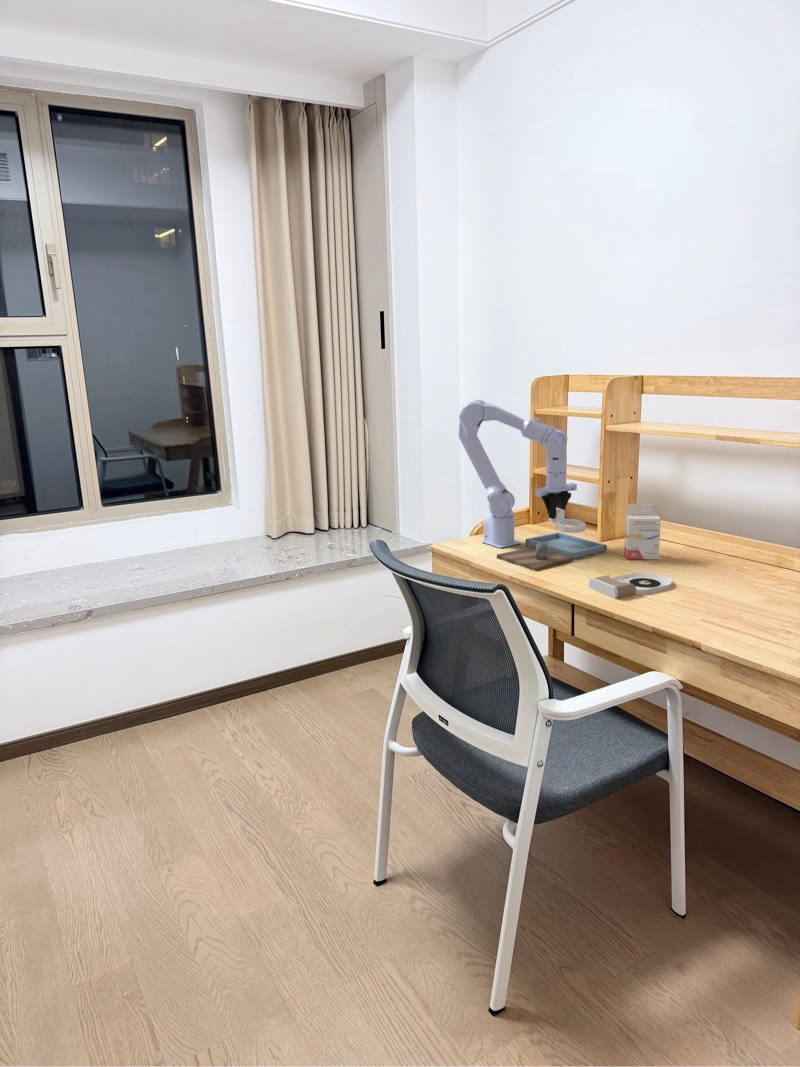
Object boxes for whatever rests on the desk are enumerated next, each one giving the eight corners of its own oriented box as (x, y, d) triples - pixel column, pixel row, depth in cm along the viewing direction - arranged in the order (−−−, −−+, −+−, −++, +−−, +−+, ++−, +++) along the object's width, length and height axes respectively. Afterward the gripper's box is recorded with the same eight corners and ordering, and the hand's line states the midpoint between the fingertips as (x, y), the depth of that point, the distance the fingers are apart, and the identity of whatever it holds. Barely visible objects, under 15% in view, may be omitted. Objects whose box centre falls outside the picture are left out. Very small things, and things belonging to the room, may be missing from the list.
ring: (540, 522, 220) (542, 509, 219) (561, 518, 225) (562, 505, 223) (569, 534, 211) (571, 521, 209) (590, 529, 215) (592, 516, 214)
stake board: (496, 558, 213) (496, 541, 212) (534, 549, 220) (534, 533, 219) (534, 570, 200) (534, 552, 198) (573, 561, 206) (573, 543, 205)
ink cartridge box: (627, 560, 206) (629, 507, 202) (623, 555, 210) (625, 504, 207) (659, 559, 205) (661, 507, 201) (655, 554, 209) (657, 503, 206)
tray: (525, 545, 224) (525, 539, 224) (557, 538, 231) (557, 532, 230) (573, 560, 208) (573, 553, 207) (606, 551, 214) (606, 545, 214)
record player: (586, 576, 184) (648, 564, 193) (585, 588, 185) (647, 576, 193) (618, 589, 174) (682, 576, 182) (618, 602, 175) (682, 588, 183)
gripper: (546, 476, 210) (546, 523, 214) (584, 470, 217) (583, 515, 221) (530, 473, 216) (530, 519, 219) (567, 467, 223) (566, 512, 227)
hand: (555, 517), depth 221 cm, fingers closed on ring, 2 cm apart
